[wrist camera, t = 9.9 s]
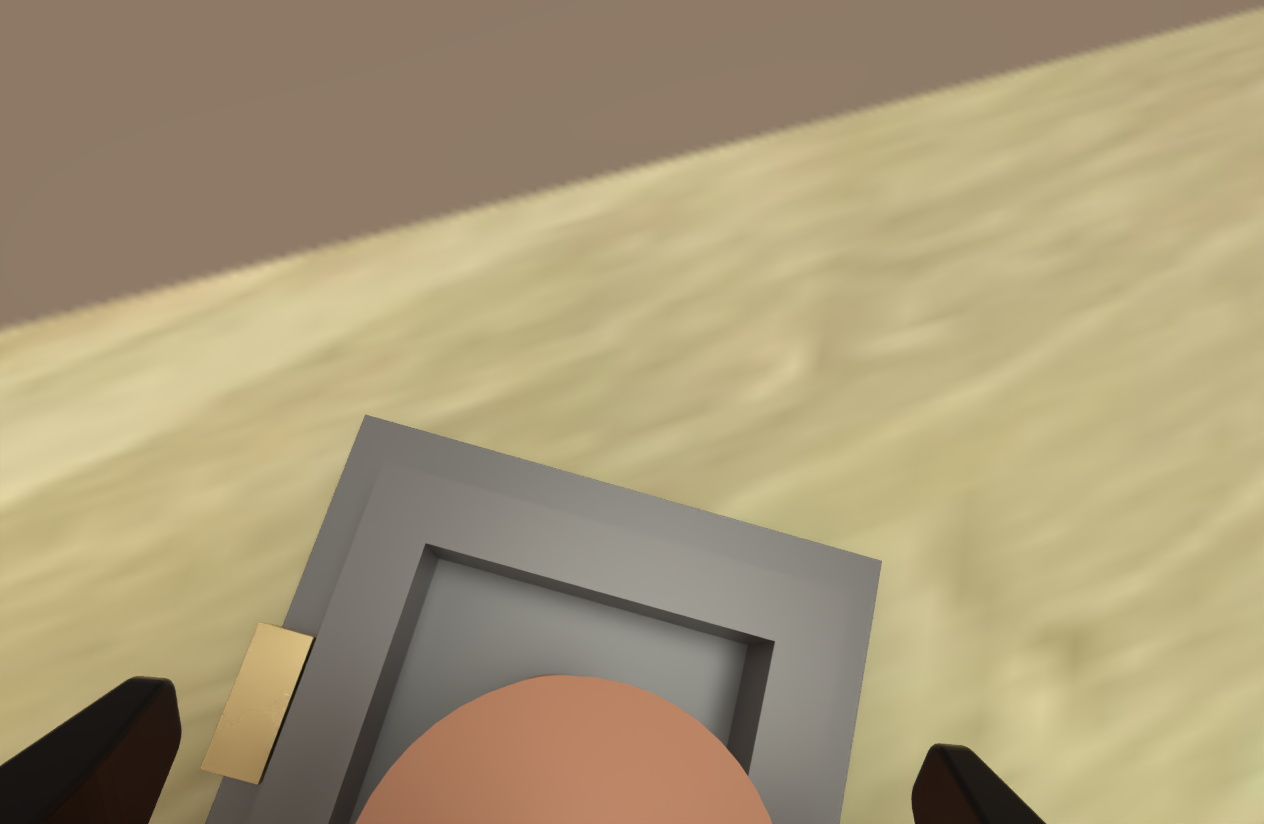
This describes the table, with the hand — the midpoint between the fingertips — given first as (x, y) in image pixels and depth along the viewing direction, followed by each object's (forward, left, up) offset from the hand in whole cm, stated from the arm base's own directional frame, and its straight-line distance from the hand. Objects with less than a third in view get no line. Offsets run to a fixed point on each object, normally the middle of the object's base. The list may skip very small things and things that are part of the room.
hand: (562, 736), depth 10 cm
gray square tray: (0, +1, -11) cm, 11 cm away
